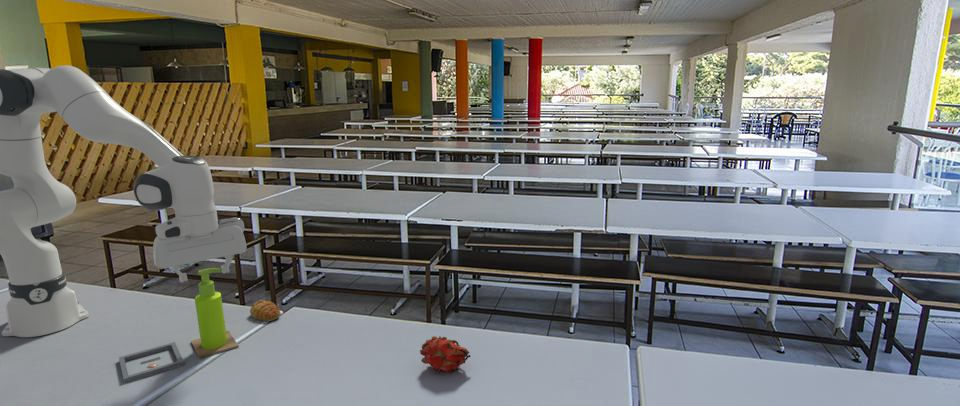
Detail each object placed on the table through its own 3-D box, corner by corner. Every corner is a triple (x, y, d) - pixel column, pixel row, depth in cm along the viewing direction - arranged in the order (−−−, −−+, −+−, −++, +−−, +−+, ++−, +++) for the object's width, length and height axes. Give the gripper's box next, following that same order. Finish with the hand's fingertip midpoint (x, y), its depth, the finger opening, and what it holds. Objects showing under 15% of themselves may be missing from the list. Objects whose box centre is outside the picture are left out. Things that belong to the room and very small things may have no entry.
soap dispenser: (230, 346, 134) (221, 271, 129) (200, 351, 132) (189, 275, 127) (232, 335, 139) (222, 264, 135) (203, 340, 137) (192, 267, 132)
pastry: (287, 316, 152) (286, 304, 151) (266, 325, 147) (264, 312, 146) (268, 308, 157) (267, 296, 156) (247, 316, 152) (245, 304, 151)
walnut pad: (191, 342, 137) (191, 341, 137) (228, 332, 142) (228, 330, 142) (199, 358, 129) (199, 356, 129) (238, 346, 135) (238, 345, 134)
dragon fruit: (417, 370, 126) (466, 380, 125) (412, 367, 118) (464, 378, 117) (425, 334, 129) (473, 344, 128) (421, 329, 122) (472, 339, 120)
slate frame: (119, 361, 128) (118, 357, 128) (175, 345, 136) (174, 341, 135) (124, 382, 119) (123, 379, 119) (184, 365, 126) (183, 361, 126)
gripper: (239, 213, 137) (245, 264, 140) (147, 227, 124) (156, 282, 128) (246, 218, 132) (252, 270, 135) (151, 233, 120) (160, 290, 123)
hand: (205, 276), depth 131 cm, fingers open, 8 cm apart
